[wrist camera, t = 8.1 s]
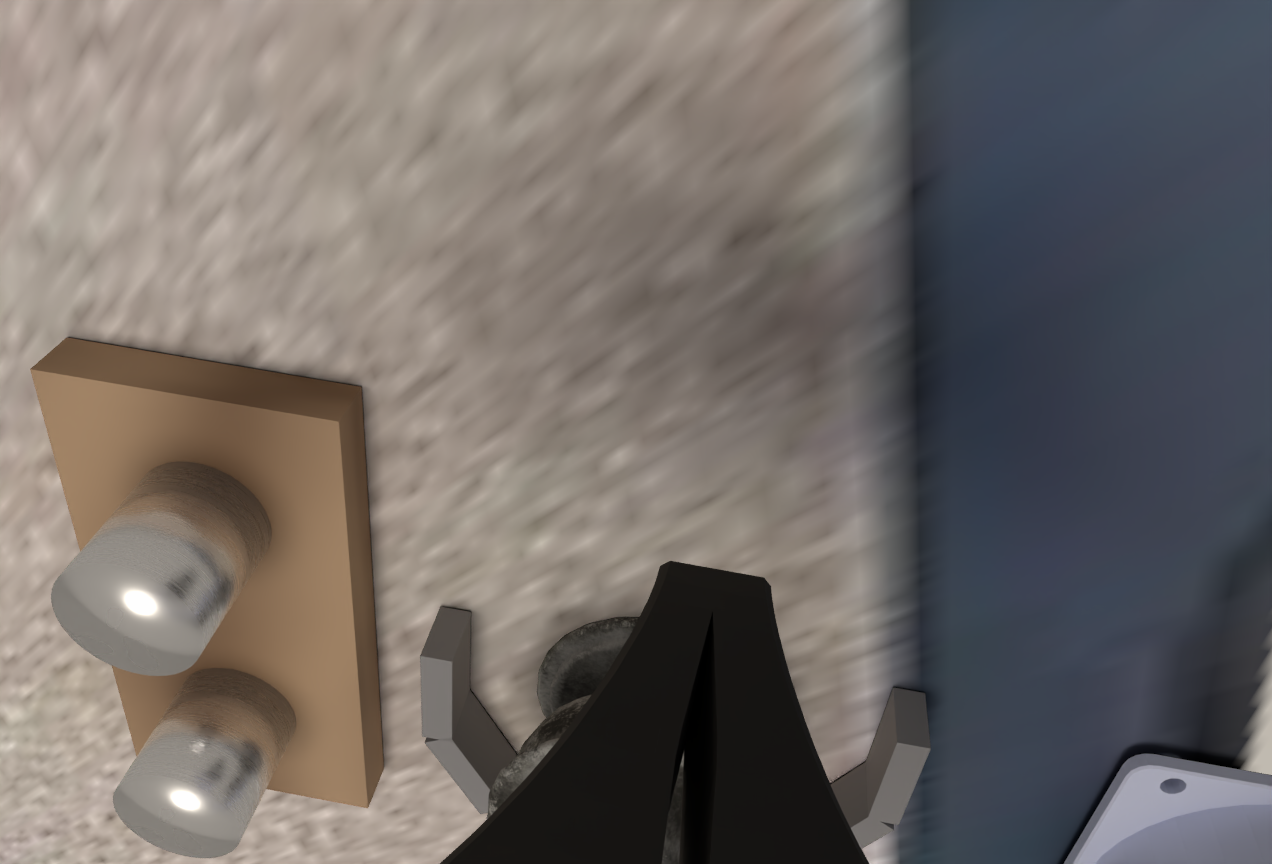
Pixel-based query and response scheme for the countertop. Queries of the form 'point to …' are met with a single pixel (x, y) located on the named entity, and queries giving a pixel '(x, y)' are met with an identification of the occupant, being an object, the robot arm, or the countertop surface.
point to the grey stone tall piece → (577, 710)
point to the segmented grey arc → (482, 751)
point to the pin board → (312, 518)
